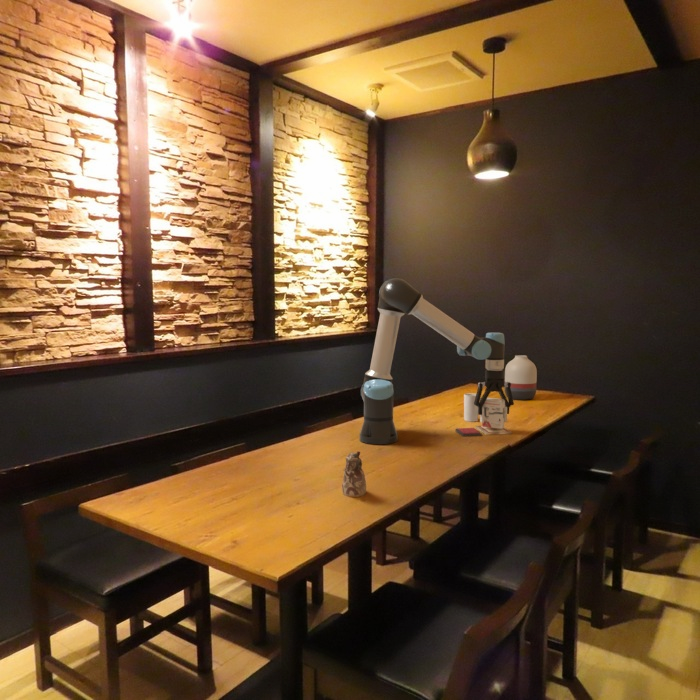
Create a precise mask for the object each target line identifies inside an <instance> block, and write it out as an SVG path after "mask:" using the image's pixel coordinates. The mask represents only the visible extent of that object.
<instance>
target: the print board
mask: <svg viewBox="0 0 700 700" xmlns="http://www.w3.org/2000/svg"><path fill="white" fill-rule="evenodd" d="M475 428H476V430H477V431H478V430H479V432H480V433H483V434H484V435H487V436H489V435H490V436H491V435H492V436H494V435H512V434H513V432H512V431H511V430H509V429H508V428H506V427H505V426H504V427H503V428H502V429H500V428H491V427H483V426H482V425H475Z"/></svg>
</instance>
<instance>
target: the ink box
mask: <svg viewBox="0 0 700 700" xmlns="http://www.w3.org/2000/svg"><path fill="white" fill-rule="evenodd" d="M483 407H484V423H481V424H482V425H481V426H483V427H491V428H500V429H502V428H503V427H504V428H505V425H506V424H505V423H506V422H505V400H504V399H502V398H495V397H487V399H486V401H485V403H484V405H483Z"/></svg>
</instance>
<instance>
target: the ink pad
mask: <svg viewBox="0 0 700 700" xmlns="http://www.w3.org/2000/svg"><path fill="white" fill-rule="evenodd" d="M454 430H455V432H456V433H458V435H460V436H462V437H482V436H483V435H482V433H483V432H481V431H480V430H479V431H478V429H477V428H476V429H475V428H474V427H461V428H460V427H459V428H458V427H457V428H455V429H454Z"/></svg>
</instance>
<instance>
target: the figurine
mask: <svg viewBox="0 0 700 700" xmlns="http://www.w3.org/2000/svg"><path fill="white" fill-rule="evenodd" d="M360 454H361V451H359V450H357V451H356V453H355V452H350V453H349V454H348V455H347V456H346V457H345V468H343V472H344V473H343V480H342V483H341V484H342V485H341V486H342V488H341V489H342V495H343V496H346V497H349V498H350V497H352V498H353V497H354V498H357V497H362V496H364V495H365V494H367V480H366V475H365V472H364V470H363V468H362V466H363V463H362V458H360Z"/></svg>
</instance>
